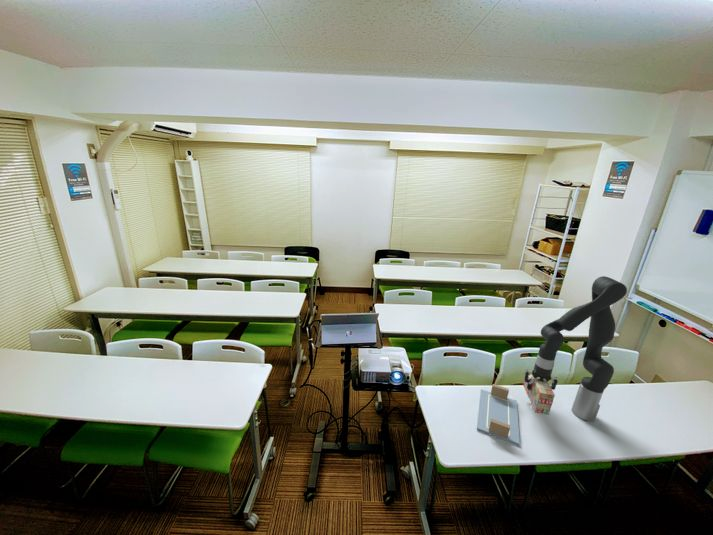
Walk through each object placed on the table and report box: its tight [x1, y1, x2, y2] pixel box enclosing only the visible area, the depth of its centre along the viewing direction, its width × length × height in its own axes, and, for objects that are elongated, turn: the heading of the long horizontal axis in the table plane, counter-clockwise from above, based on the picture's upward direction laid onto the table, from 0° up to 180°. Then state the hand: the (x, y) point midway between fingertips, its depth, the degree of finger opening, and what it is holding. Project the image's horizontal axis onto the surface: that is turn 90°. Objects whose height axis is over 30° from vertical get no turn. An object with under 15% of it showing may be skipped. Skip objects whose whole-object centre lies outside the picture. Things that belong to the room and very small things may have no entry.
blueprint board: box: [476, 383, 521, 447], centre depth 146 cm, size 18×30×7 cm, turn 154°
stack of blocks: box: [522, 370, 556, 416], centre depth 148 cm, size 21×6×12 cm, turn 166°
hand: (537, 391), depth 148 cm, fingers closed on stack of blocks, 7 cm apart
